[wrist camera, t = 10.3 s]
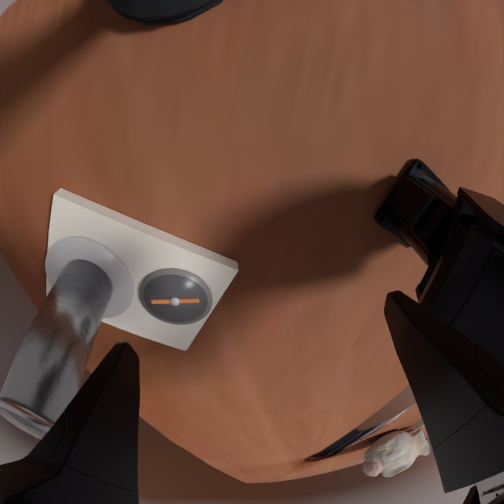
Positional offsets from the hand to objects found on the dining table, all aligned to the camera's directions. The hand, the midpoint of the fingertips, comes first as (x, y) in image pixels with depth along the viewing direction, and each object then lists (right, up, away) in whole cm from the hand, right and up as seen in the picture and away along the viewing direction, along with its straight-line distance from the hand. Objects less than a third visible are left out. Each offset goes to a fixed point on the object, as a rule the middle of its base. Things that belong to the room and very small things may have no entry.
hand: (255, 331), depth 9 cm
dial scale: (-11, 0, +15) cm, 18 cm away
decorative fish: (+42, -54, +57) cm, 89 cm away
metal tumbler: (-14, 0, +13) cm, 19 cm away
